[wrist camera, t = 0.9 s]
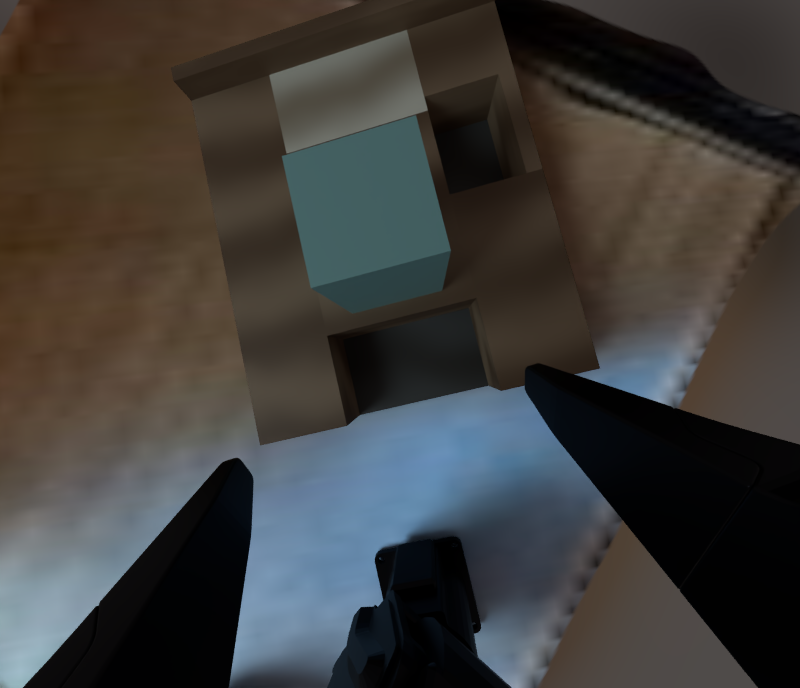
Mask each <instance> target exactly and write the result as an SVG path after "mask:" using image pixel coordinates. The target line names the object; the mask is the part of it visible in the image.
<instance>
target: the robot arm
mask: <svg viewBox="0 0 800 688" xmlns="http://www.w3.org/2000/svg"><path fill="white" fill-rule="evenodd" d="M525 390H526V393H527V395H528V396H529V398H530V399H531V401H532V402H533V404H534V405H535V407H536V408H537V410H538V412H539V413H540V415H541V416H542V418H543V419H544V421H545V422H546V424H547V425H548V427H549V428H550V430H551V431H552V433H553V434H554V435H555V437H556V438H557V439H558V441H559V442H560V443H561V444H562V446H563V447H564V448H565V449H566V451H567V452H568V453H569V454H570V455H571V457H572V458H573V459H574V460H575V462H576V463H577V464H578V465H579V467H580V468H581V469H582V470H583V472H584V473H585V474H586V475H587V477H588V478H589V479H590V480H591V481H592V483H593V484H594V485H595V486H596V488H597V489H598V490H599V491H600V493H601V494H602V495H603V496H604V498H605V499H606V500H607V501H608V502H609V504H610V505H611V506H612V507H613V509H614V510H615V511H616V512H617V514H618V515H619V516H620V517H621V519H622V520H623V521H624V522H625V524H626V525H627V526H628V527H629V528H630V530H631V531H632V532H633V533H634V535H635V536H636V537H637V538H638V540H639V541H640V542H641V543H642V544H643V546H644V547H645V548H646V549H647V551H648V552H649V553H650V554H651V556H652V557H653V558H654V559H655V561H656V562H657V563H658V564H659V566H660V567H661V568H662V569H663V571H664V572H665V573H666V574H667V575H668V577H669V578H670V579H671V580H672V582H673V583H674V584H675V585H676V586H677V588H679V589H680V592H681V593H682V594H683V595H684V597H685V598H686V599H687V601H688V602H689V603H690V604H691V605H692V607H693V608H694V609H695V610H696V612H697V613H698V614H699V615H700V617H701V618H702V619H703V620H704V622H705V623H706V624H707V625H708V626H709V628H710V629H711V630H712V631H713V633H714V634H715V635H716V636H717V638H718V639H719V640H720V641H721V643H722V644H723V645H724V646H725V647H726V649H727V650H728V651H729V652H730V654H731V655H732V656H733V657H734V659H735V660H736V661H737V662H738V664H739V665H740V666H741V667H742V669H743V670H744V671H745V672H746V673H747V675H748V676H749V677H750V678H751V680H752V681H753V682H754V683H755V685H756V686H757V687H758V688H800V445H799V444H796V443H792V442H788V441H785V440H781V439H777V438H774V437H770V436H767V435H763V434H759V433H756V432H752V431H749V430H745V429H742V428H738V427H734V426H731V425H728V424H724V423H721V422H718V421H715V420H711V419H708V418H705V417H702V416H699V415H695V414H692V413H689V412H686V411H683V410H680V409H677V408H674V409H673V407H671V406H668V405H665V404H662V403H659V402H656V401H653V400H650V399H647V398H644V397H641V396H638V395H635V394H632V393H629V392H626V391H623V390H620V389H617V388H613V387H610V386H607V385H604V384H601V383H598V382H595V381H592V380H589V379H586V378H583V377H580V376H577V375H574V374H571V373H568V372H565V371H562V370H559V369H556V368H553V367H550V366H547V365H544V364H541V363H536V364H533V365H529V366H527V367H526V368H525ZM252 507H253V476H252V474H251V473H250V471H249V470H248V469H247V467H246V466H245V465H244V463H243V462H242V461H241V460H240V459H239V458H233V459H230V460H227V461H224V462H222V463H221V464H220V465H219V466H218V468H217V469H216V470H215V471H214V472H213V473H212V474H211V476H210V477H209V478H208V479H207V480H206V481H205V482H204V484H203V485H202V486H201V487H200V488H199V489H198V490H197V492H196V493H195V494H194V495H193V496H192V497H191V498H190V500H189V501H188V502H187V503H186V504H185V505H184V506H183V508H182V509H181V510H180V511H179V512H178V513H177V514H176V516H175V517H174V518H173V519H172V520H171V521H170V522H169V524H168V525H167V526H166V527H165V528H164V529H163V530H162V532H161V533H160V534H159V535H158V536H157V537H156V538H155V540H154V541H153V542H152V543H151V544H150V545H149V546H148V548H147V549H146V550H145V551H144V552H143V553H142V554H141V556H140V557H139V558H138V559H137V560H136V561H135V562H134V564H133V565H132V566H131V567H130V568H129V569H128V570H127V572H126V573H125V574H124V575H123V576H122V577H121V578H120V580H119V581H118V582H117V583H116V584H115V585H114V586H113V588H112V589H111V590H110V591H109V592H108V593H107V594H106V596H105V597H104V598H103V599H102V600H101V601H100V603H99V606H96V607H95V608H94V609H93V610H92V612H91V613H90V614H89V615H88V616H87V617H86V618H85V620H84V621H83V622H82V623H81V624H80V625H79V626H78V628H77V629H76V630H75V631H74V632H73V633H72V634H71V635H70V637H69V638H68V639H67V640H66V641H65V642H64V643H63V644H62V645H61V647H60V648H59V649H58V650H57V651H56V652H55V653H54V654H53V656H52V657H51V658H50V659H49V660H48V661H47V662H46V663H45V664H44V665H43V666H42V668H41V669H40V670H39V671H38V672H37V673H36V674H35V675H34V676H33V677H32V678H31V679H30V680H29V682H28V683H27V684H26V685H25V686H24V687H23V688H229V682H230V675H231V669H232V662H233V655H234V648H235V642H236V635H237V628H238V621H239V615H240V608H241V601H242V594H243V588H244V581H245V574H246V567H247V561H248V554H249V547H250V540H251V529H252ZM453 543H456V544H458V545H457V546H456V547H453V546H452V544H453ZM380 557H383V558H384V559H385V560H383V561H382V560H380V559H379V558H380ZM375 564H376V569H377V573H378V578H379V582H380V587H381V591H382V596H383V601H382V603H381V604H380V605H379V606H378V607H377V606H376V605H374V607H361V608H360V609H359V610H358V611H357V613H356V614H355V615H354V617H353V621H352V624H351V628H350V632H349V635H348V640H347V646H346V648H345V649H344V650H343V651H342V653H341V655H340V657H339V658H338V660H337V661H336V663H335V665H334V667H333V670H332V673H333V675H332V677H331V680H330V682H329V685H328V687H327V688H511V687H510V686H509V685H508V684H507V683H506V682H505V681H504V680H503V679H501V678H500V677H499V676H498V675H497V674H496V673H495V672H494V671H493V670H491V669H490V668H489V667H488V666H487V665H486V664H485V663H484V662H483V661H481V660H480V659H479V658H478V655H477V649H476V643H475V637H474V633H478V632H479V631H480V629H481V623H480V618H479V614H478V610H477V606H476V602H475V598H474V593H473V589H472V585H471V581H470V577H469V573H468V569H467V565H466V560H465V556H464V552H463V548H462V544H461V541H460V539H459V538H458V537H454V536H453V537H447V538H442V539H437V540H431V539H427V540H422V541H417V542H412V543H406V544H401V545H399V546H398V547H395V548H390V549H385V550H380V551H378V552H377V554H376V557H375ZM472 622H475V623H476V624H474V625H472Z"/></svg>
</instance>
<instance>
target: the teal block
mask: <svg viewBox="0 0 800 688" xmlns="http://www.w3.org/2000/svg"><path fill="white" fill-rule="evenodd" d="M282 160H283V164H284V169H285V173H286V178H287V182H288V187H289V191H290V196H291V200H292V205H293V209H294V214H295V218H296V223H297V228H298V232H299V237H300V241H301V246H302V250H303V255H304V259H305V264H306V268H307V273H308V277H309V282H310V287H311V288H312V289H313V290H315V291H316V292H318V293H320V294H321V295H323V296H325V297H326V298H328V299H329V300H331V301H333V302H334V303H336V304H338V305H339V306H341V307H343V308H344V309H346V310H347V311H349V312H351V313H352V314H353V313H357V312H361V311H365V310H369V309H373V308H377V307H381V306H384V305H388V304H392V303H396V302H400V301H404V300H408V299H412V298H416V297H419V296H423V295H427V294H431V293H435V292H439V291H442V289H443V284H444V280H445V275H446V271H447V266H448V262H449V257H450V252H451V249H450V245H449V241H448V238H447V234H446V230H445V226H444V222H443V218H442V214H441V211H440V207H439V203H438V199H437V195H436V191H435V187H434V183H433V180H432V176H431V172H430V168H429V164H428V160H427V156H426V152H425V149H424V145H423V141H422V137H421V133H420V129H419V125H418V121H417V118H416V115H415V116H412V117H408V118H405V119H402V120H399V121H395V122H392V123H389V124H385V125H382V126H379V127H376V128H372V129H369V130H366V131H363V132H359V133H356V134H353V135H349V136H346V137H343V138H340V139H336V140H333V141H330V142H326V143H323V144H320V145H317V146H313V147H310V148H307V149H304V150H300V151H297V152H294V153H290V154H287V155H284V156H282Z"/></svg>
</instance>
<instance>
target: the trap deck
mask: <svg viewBox="0 0 800 688" xmlns="http://www.w3.org/2000/svg"><path fill="white" fill-rule="evenodd" d="M171 70H172V75H173V80H174V82H175V83H176V84H177V85H178V86H179V87H180V89H181V90H182V91H183V92H184V93H185V94H186V95H187V96H188V97H189V98H190V100H191V101H192V106H193V111H194V116H195V121H196V126H197V131H198V136H199V141H200V146H201V151H202V156H203V161H204V166H205V171H206V176H207V181H208V186H209V191H210V196H211V201H212V206H213V211H214V216H215V221H216V226H217V231H218V236H219V241H220V246H221V251H222V256H223V261H224V266H225V271H226V276H227V281H228V286H229V291H230V296H231V301H232V306H233V311H234V316H235V321H236V326H237V331H238V336H239V341H240V346H241V351H242V356H243V361H244V366H245V371H246V376H247V381H248V386H249V391H250V396H251V401H252V406H253V411H254V416H255V421H256V426H257V431H258V436H259V441H260V445H264V444H268V443H273V442H277V441H282V440H286V439H290V438H295V437H299V436H304V435H308V434H313V433H317V432H321V431H326V430H330V429H335V428H339V427H343V426H347V425H348V424H350V423H351V422H352V421H353V420H354V419H356V418H357V417H358V416H359V415H362V414H366V413H370V412H375V411H379V410H384V409H388V408H392V407H397V406H401V405H405V404H410V403H414V402H418V401H423V400H427V399H432V398H436V397H440V396H445V395H449V394H453V393H458V392H462V391H467V390H471V389H475V388H480V387H484V386H488V385H489V386H491V387H493V388H496V389H498V390H500V391H502V390H507V389H511V388H516V387H520V386H524V385H525V368H526V367H527V366H529V365H533V364H536V363H541V364H544V365H547V366H550V367H553V368H556V369H559V370H562V371H565V372H568V373H571V374H577V373H582V372H586V371H591V370H595V369H599V368H600V367H599V363H598V360H597V356H596V353H595V349H594V346H593V342H592V339H591V335H590V332H589V329H588V325H587V322H586V318H585V315H584V311H583V308H582V304H581V301H580V297H579V294H578V290H577V287H576V283H575V280H574V276H573V273H572V269H571V266H570V262H569V259H568V256H567V252H566V249H565V245H564V242H563V238H562V235H561V231H560V228H559V224H558V221H557V217H556V214H555V210H554V207H553V203H552V200H551V196H550V193H549V189H548V186H547V182H546V179H545V176H544V172H543V169H542V165H541V162H540V158H539V155H538V151H537V148H536V144H535V141H534V137H533V134H532V130H531V127H530V123H529V120H528V116H527V113H526V109H525V106H524V103H523V99H522V96H521V92H520V89H519V85H518V82H517V78H516V75H515V71H514V68H513V64H512V61H511V57H510V54H509V50H508V47H507V43H506V40H505V36H504V33H503V30H502V26H501V23H500V19H499V16H498V12H497V9H496V5H495V2H494V0H368V1H365V2H362V3H360V4H357V5H354V6H351V7H348V8H345V9H342V10H339V11H336V12H333V13H330V14H327V15H324V16H321V17H318V18H315V19H313V20H310V21H307V22H304V23H301V24H298V25H295V26H292V27H289V28H286V29H283V30H280V31H277V32H274V33H271V34H268V35H266V36H263V37H260V38H257V39H254V40H251V41H248V42H245V43H242V44H239V45H236V46H233V47H230V48H227V49H224V50H222V51H219V52H216V53H213V54H210V55H207V56H204V57H201V58H198V59H195V60H192V61H189V62H186V63H183V64H180V65H177V66H175V67H172V68H171ZM415 115H416V118H417V121H418V125H419V129H420V133H421V137H422V141H423V145H424V149H425V152H426V156H427V160H428V164H429V168H430V172H431V176H432V180H433V183H434V187H435V191H436V195H437V199H438V203H439V207H440V211H441V214H442V218H443V222H444V226H445V230H446V234H447V238H448V241H449V245H450V249H451V252H450V257H449V262H448V266H447V271H446V275H445V280H444V284H443V289H442V291H439V292H435V293H431V294H427V295H423V296H419V297H416V298H412V299H408V300H404V301H400V302H396V303H392V304H388V305H384V306H381V307H377V308H373V309H369V310H365V311H361V312H357V313H353V314H352V313H351V312H349V311H347V310H346V309H344V308H343V307H341V306H339V305H338V304H336V303H334V302H333V301H331V300H329V299H328V298H326V297H325V296H323V295H321V294H320V293H318V292H316V291H315V290H313V289H312V288H311V287H310V282H309V277H308V273H307V268H306V264H305V259H304V255H303V250H302V246H301V241H300V237H299V232H298V228H297V223H296V218H295V214H294V209H293V205H292V200H291V196H290V191H289V187H288V182H287V178H286V173H285V169H284V164H283V160H282V156H284V155H287V154H290V153H294V152H297V151H300V150H304V149H307V148H310V147H313V146H317V145H320V144H323V143H326V142H330V141H333V140H336V139H340V138H343V137H346V136H349V135H353V134H356V133H359V132H363V131H366V130H369V129H372V128H376V127H379V126H382V125H385V124H389V123H392V122H395V121H399V120H402V119H405V118H408V117H412V116H415Z"/></svg>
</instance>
